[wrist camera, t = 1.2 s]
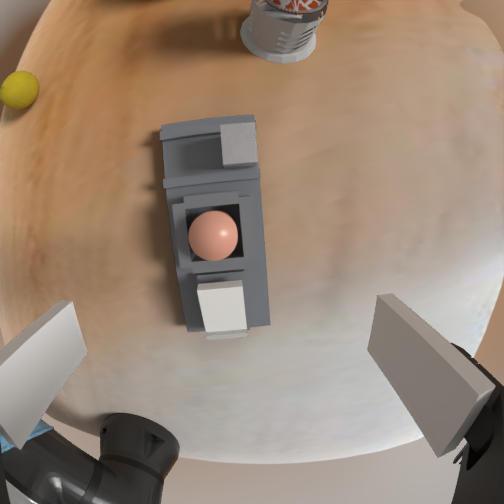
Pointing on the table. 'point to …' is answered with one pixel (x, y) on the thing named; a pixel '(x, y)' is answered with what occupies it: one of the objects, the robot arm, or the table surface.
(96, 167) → the table surface
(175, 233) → the panel
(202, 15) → the table surface
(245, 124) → the slide switch
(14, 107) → the lemon
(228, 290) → the rocker switch
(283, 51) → the french press
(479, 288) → the table surface
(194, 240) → the push button
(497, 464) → the robot arm
